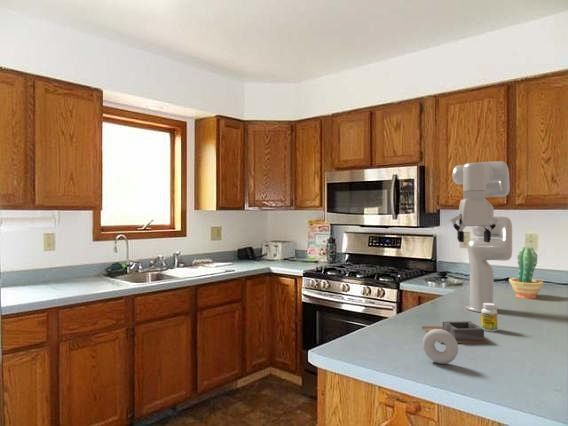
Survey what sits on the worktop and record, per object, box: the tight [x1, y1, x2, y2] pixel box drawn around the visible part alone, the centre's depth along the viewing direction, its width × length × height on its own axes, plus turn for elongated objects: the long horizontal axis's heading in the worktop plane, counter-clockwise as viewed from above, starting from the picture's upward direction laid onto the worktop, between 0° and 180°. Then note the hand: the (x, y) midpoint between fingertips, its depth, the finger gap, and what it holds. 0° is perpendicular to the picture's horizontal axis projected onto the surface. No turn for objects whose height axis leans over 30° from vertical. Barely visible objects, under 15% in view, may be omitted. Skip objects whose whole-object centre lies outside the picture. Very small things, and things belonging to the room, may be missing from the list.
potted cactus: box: [508, 246, 545, 299], centre depth 211 cm, size 15×15×25 cm
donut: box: [422, 329, 459, 365], centre depth 122 cm, size 10×4×10 cm, turn 56°
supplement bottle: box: [480, 303, 498, 333], centre depth 155 cm, size 5×5×10 cm
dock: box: [421, 320, 489, 345], centre depth 149 cm, size 18×16×4 cm
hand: (473, 242), depth 156 cm, fingers open, 9 cm apart
